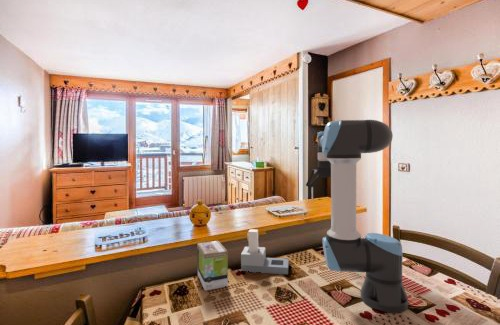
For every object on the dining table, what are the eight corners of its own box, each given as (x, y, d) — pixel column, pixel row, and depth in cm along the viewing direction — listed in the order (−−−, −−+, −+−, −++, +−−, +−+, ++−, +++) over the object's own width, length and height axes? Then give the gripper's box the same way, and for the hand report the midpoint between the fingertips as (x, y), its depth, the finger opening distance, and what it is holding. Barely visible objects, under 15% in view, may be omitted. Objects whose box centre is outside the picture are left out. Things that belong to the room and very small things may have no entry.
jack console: (287, 274, 117) (287, 256, 117) (241, 271, 121) (241, 254, 120) (288, 264, 127) (288, 248, 127) (245, 262, 130) (245, 246, 130)
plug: (257, 257, 122) (256, 232, 122) (247, 257, 123) (246, 231, 123) (258, 254, 126) (258, 229, 126) (248, 254, 127) (248, 229, 126)
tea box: (228, 286, 107) (228, 250, 107) (204, 291, 104) (203, 254, 103) (219, 271, 121) (218, 239, 121) (197, 275, 118) (196, 242, 117)
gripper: (348, 159, 144) (348, 198, 144) (301, 160, 150) (302, 197, 151) (350, 160, 136) (350, 201, 137) (300, 160, 143) (301, 200, 143)
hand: (325, 199), depth 144 cm, fingers open, 13 cm apart
